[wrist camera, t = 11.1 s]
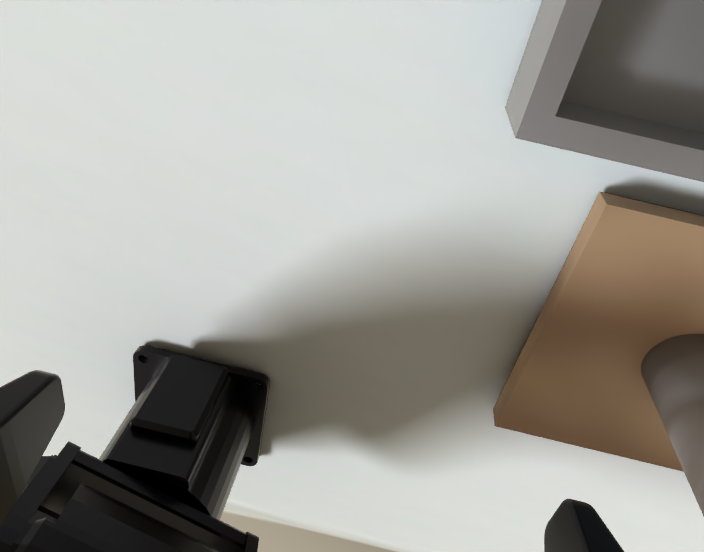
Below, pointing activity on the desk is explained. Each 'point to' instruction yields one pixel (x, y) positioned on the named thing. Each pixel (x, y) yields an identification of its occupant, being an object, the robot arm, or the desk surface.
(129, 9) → the desk surface
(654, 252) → the stake
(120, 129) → the desk surface
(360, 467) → the desk surface
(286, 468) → the desk surface
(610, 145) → the tray
